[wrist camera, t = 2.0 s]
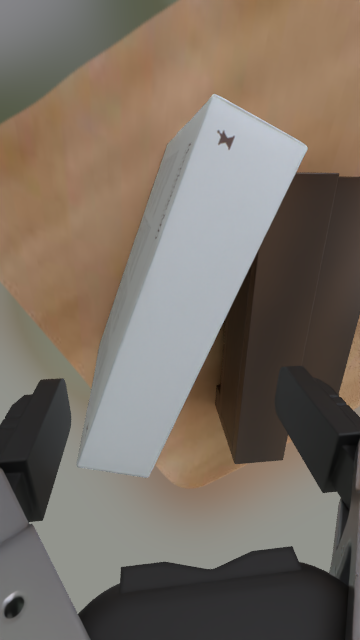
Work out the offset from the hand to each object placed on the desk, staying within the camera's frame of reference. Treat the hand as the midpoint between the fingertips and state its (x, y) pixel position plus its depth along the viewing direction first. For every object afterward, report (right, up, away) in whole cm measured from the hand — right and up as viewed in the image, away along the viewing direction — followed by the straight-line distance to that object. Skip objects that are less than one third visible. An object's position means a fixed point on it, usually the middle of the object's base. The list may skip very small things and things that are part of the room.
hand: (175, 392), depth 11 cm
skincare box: (-2, +8, +19) cm, 21 cm away
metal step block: (+12, +4, +22) cm, 26 cm away
